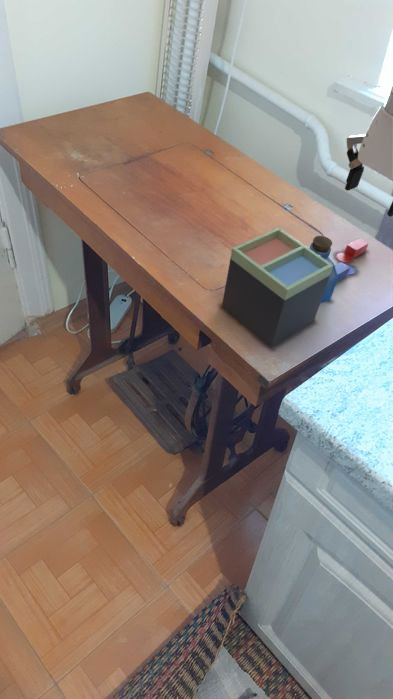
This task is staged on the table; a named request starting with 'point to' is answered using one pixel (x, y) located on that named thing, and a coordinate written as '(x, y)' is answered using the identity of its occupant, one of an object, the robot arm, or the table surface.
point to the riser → (269, 306)
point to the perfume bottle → (323, 249)
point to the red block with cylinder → (352, 250)
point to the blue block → (344, 270)
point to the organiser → (281, 263)
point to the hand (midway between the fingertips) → (371, 200)
